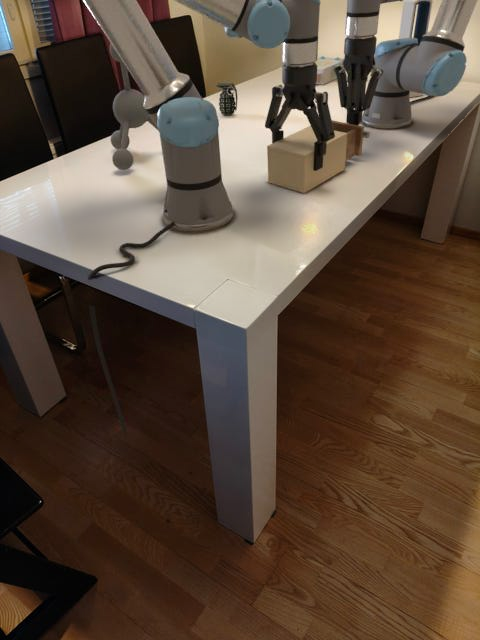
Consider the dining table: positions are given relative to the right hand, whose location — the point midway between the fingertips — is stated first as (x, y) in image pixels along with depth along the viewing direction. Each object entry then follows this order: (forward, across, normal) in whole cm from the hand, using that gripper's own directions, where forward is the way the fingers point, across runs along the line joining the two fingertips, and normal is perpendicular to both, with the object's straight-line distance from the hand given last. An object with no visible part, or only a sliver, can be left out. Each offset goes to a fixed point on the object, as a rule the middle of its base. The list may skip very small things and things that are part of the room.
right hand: (352, 136), depth 131 cm
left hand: (0, 0, +24) cm, 24 cm away
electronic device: (+6, +18, -63) cm, 65 cm away
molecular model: (+4, +46, +35) cm, 58 cm away
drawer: (+3, 0, +8) cm, 9 cm away
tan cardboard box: (+4, 0, +20) cm, 21 cm away
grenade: (+5, +55, -8) cm, 56 cm away
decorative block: (+6, +61, -69) cm, 92 cm away
